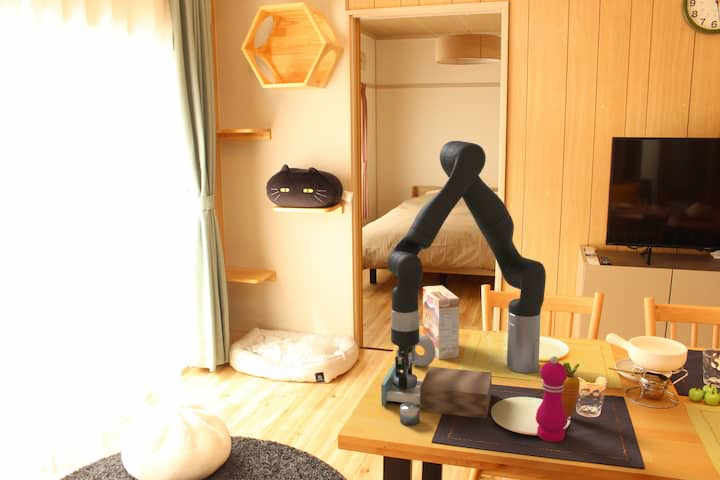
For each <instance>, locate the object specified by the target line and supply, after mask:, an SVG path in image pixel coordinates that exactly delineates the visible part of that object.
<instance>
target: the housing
mask: <svg viewBox="0 0 720 480" xmlns="http://www.w3.org/2000/svg"><path fill="white" fill-rule="evenodd" d="M492 374H493V373H492V371H481V370H471V369H470V370H469V369H460V368H450V367H437V366H428V369H427V371H426V373H425V376H424V378H423V379H422V380H423V382H422V385H421V387H420V404H419V412H422V413H423V412H426V413H432V414H433V413H434V414H442V415H451V416H453V415H454V416H460V417H467V418H468V417H469V418H470V417H471V418H478V419H479V418H480V419H487V418H488V414H489V413H488V412H489V409H490V402H491V397H492V386H493V385H492V382H493V381H492V377H493V375H492Z"/></svg>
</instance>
